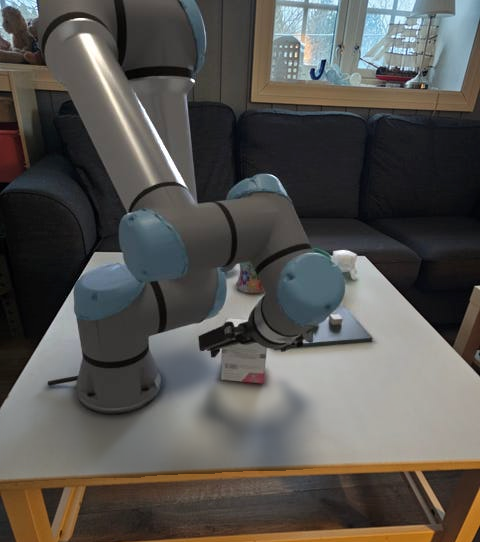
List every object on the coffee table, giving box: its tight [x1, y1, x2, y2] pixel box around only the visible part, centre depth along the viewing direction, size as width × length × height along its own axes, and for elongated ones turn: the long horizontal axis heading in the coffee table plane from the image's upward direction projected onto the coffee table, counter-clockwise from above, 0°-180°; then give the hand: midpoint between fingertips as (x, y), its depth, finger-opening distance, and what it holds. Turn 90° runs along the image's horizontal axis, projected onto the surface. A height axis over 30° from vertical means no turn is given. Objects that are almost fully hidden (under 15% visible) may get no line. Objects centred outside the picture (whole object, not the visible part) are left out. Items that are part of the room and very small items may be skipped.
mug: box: [235, 261, 264, 294], centre depth 121 cm, size 12×9×11 cm
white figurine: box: [331, 249, 358, 281], centre depth 132 cm, size 9×8×15 cm
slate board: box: [277, 305, 374, 350], centre depth 105 cm, size 24×16×1 cm, turn 103°
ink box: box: [220, 318, 268, 384], centre depth 84 cm, size 9×5×12 cm, turn 84°
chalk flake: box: [329, 314, 343, 325], centre depth 105 cm, size 2×2×2 cm
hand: (247, 347), depth 82 cm, fingers open, 13 cm apart
